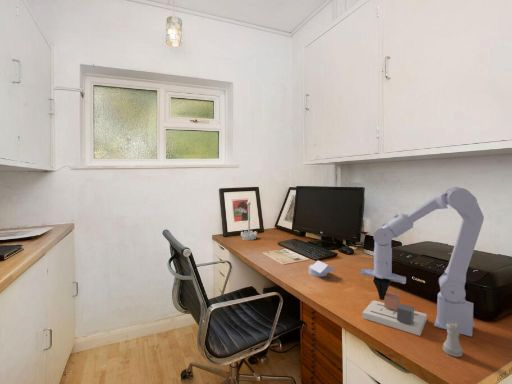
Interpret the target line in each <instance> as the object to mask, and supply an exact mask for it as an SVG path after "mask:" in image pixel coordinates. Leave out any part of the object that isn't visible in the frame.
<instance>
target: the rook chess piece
mask: <svg viewBox="0 0 512 384" xmlns="http://www.w3.org/2000/svg"><path fill="white" fill-rule="evenodd" d="M446 327H447V328H448V330H446V333H447V334H446V335H447V336H446V340H445V341H444V342H443V344H442V351H444V353H445V354H447V355H448V356H451V357H454V358H460V357H462V356H463V354H464V353H463V348H462V346H461V344H460V339H459V336H460V335H461V334H460V333H458V332H459V330H460V329H461V328H460V327H459V324H458V323H455V324H454V322H453V321H452V323H450V321H448V324H446Z"/></svg>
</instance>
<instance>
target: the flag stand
mask: <svg viewBox="0 0 512 384" xmlns="http://www.w3.org/2000/svg"><path fill="white" fill-rule="evenodd" d="M246 205H247V230H244V231H241V232H240V236H241V239H242V240H244V241H255V240H256V239H257V236H258V231H253V230H251V223H250V222H251V211H250V210H251V202H250V201H247V202H246ZM254 239H255V240H254Z"/></svg>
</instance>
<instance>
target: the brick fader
mask: <svg viewBox="0 0 512 384" xmlns="http://www.w3.org/2000/svg"><path fill="white" fill-rule="evenodd" d="M400 300H401V295H400V294H397V293H392V292H388V291H387V292H386V295H385V298H384V300H383V301H384V302H383V303H384V307H385V308H389V309H392V310H396V311H397V308H398V306H399V304H401V301H400Z"/></svg>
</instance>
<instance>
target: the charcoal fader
mask: <svg viewBox="0 0 512 384" xmlns="http://www.w3.org/2000/svg"><path fill="white" fill-rule="evenodd" d="M414 311H415V306H411V305H408V304H403V303H400V304H399V306H398V308H397V321H401V322H404V323H408V324H412V322H413V320H414Z"/></svg>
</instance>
